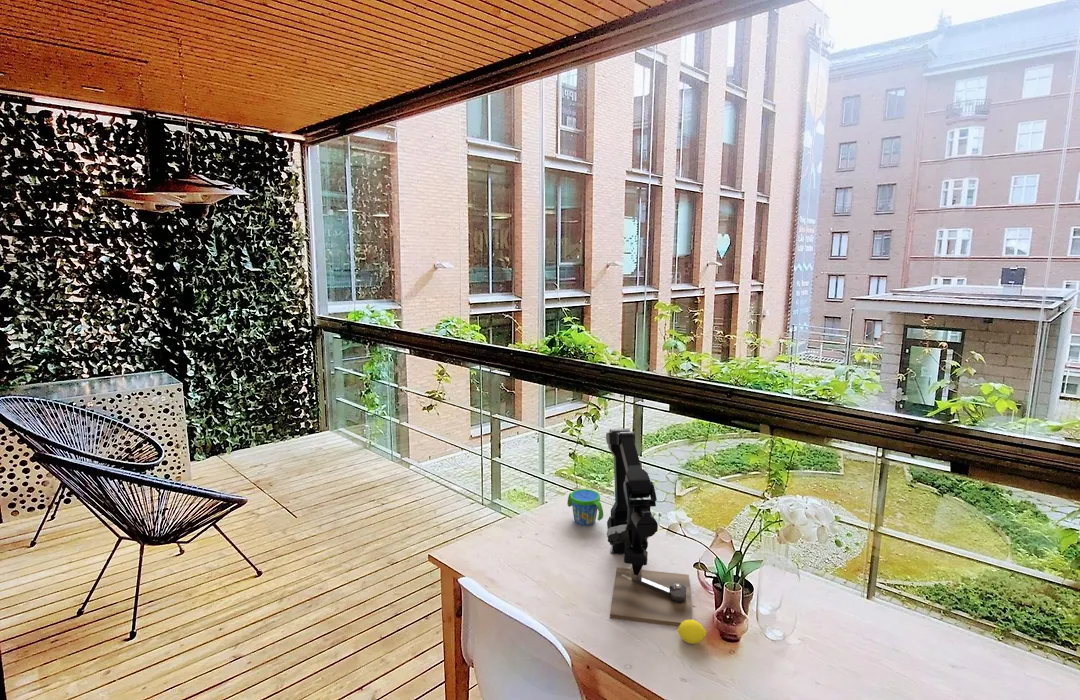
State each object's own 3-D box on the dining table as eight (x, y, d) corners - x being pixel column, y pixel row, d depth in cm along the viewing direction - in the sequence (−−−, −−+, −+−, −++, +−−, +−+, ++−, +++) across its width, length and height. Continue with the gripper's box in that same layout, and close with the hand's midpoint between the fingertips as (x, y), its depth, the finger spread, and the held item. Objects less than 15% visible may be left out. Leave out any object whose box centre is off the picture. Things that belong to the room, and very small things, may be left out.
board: (616, 571, 171) (616, 567, 171) (688, 578, 167) (688, 574, 166) (609, 618, 149) (609, 613, 149) (692, 628, 145) (692, 623, 144)
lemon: (677, 647, 139) (674, 626, 138) (680, 633, 144) (677, 613, 143) (706, 650, 136) (704, 629, 135) (708, 636, 141) (706, 616, 140)
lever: (688, 597, 155) (689, 573, 154) (681, 604, 152) (682, 580, 150) (635, 575, 166) (635, 552, 164) (627, 582, 162) (627, 558, 161)
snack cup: (610, 525, 199) (611, 498, 198) (587, 534, 193) (588, 506, 192) (582, 510, 212) (582, 484, 210) (560, 517, 206) (559, 491, 204)
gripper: (611, 503, 171) (610, 552, 173) (605, 532, 153) (604, 586, 155) (649, 507, 168) (648, 556, 171) (647, 536, 150) (646, 591, 153)
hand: (636, 571), depth 162 cm, fingers closed on lever, 3 cm apart
